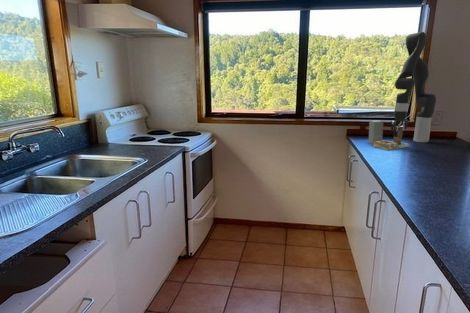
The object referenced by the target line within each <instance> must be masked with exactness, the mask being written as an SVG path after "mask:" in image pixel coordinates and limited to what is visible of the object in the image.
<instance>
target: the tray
mask: <svg viewBox="0 0 470 313" xmlns="http://www.w3.org/2000/svg"><path fill="white" fill-rule="evenodd" d="M409 146H410V144H409V143H405V142H401V145H398V148H397V149H404V148H409Z"/></svg>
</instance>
